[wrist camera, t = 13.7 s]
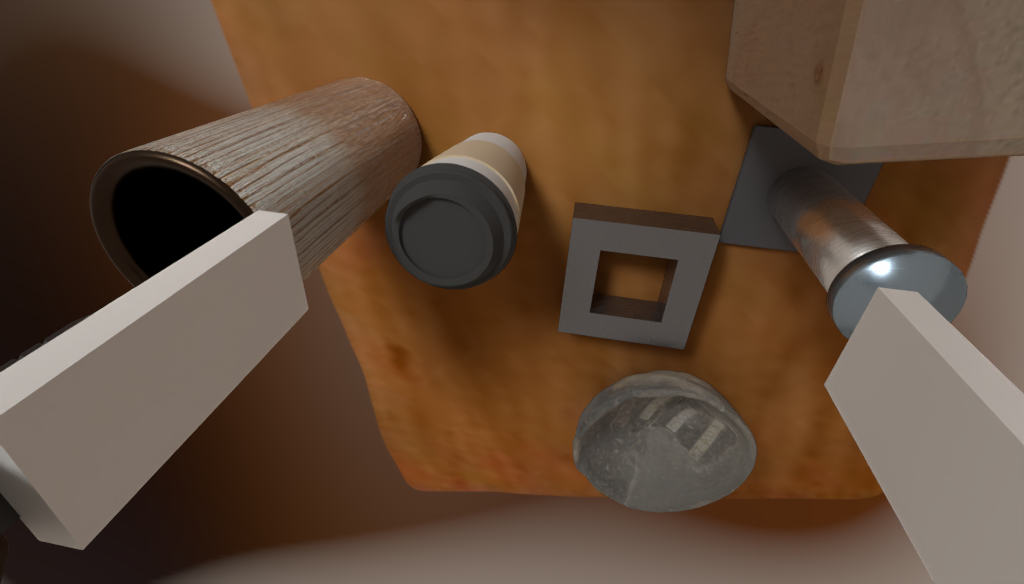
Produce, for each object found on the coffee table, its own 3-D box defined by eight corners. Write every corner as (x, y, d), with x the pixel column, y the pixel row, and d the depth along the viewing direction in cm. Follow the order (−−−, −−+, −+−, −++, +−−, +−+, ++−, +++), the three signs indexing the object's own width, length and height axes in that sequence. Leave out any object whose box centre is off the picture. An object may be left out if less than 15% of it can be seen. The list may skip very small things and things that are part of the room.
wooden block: (721, 90, 36) (819, 173, 20) (739, -73, 31) (892, -146, 15) (868, 78, 35) (1115, 159, 18) (914, -98, 29) (1319, -215, 13)
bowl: (688, 475, 59) (698, 536, 53) (554, 428, 59) (548, 484, 52) (774, 376, 49) (800, 436, 43) (614, 319, 49) (616, 371, 42)
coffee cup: (559, 184, 42) (539, 264, 30) (482, 234, 46) (436, 324, 34) (496, 96, 39) (445, 145, 27) (420, 158, 43) (344, 226, 31)
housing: (575, 202, 43) (573, 217, 40) (712, 218, 42) (720, 235, 39) (560, 311, 50) (557, 331, 47) (679, 327, 48) (683, 349, 45)
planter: (424, 85, 40) (259, 170, 21) (422, 198, 45) (291, 346, 26) (310, 67, 41) (52, 134, 22) (322, 180, 46) (124, 312, 27)
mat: (754, 124, 37) (756, 126, 37) (891, 137, 36) (894, 139, 36) (717, 239, 43) (718, 242, 42) (836, 253, 42) (838, 256, 41)
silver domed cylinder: (774, 154, 38) (864, 247, 24) (855, 163, 37) (993, 263, 24) (749, 224, 41) (816, 339, 28) (823, 233, 40) (929, 356, 27)
